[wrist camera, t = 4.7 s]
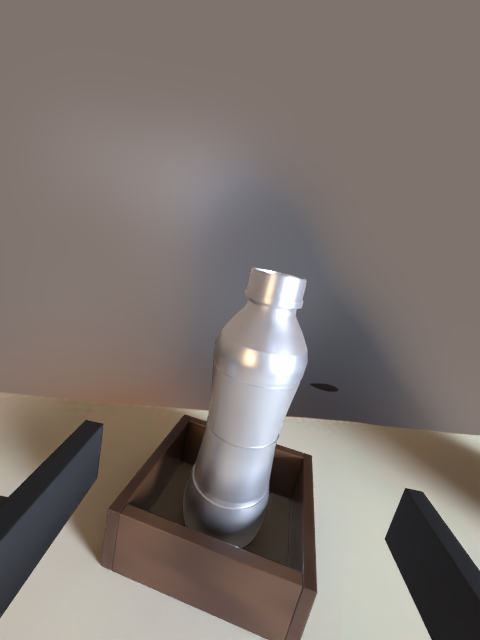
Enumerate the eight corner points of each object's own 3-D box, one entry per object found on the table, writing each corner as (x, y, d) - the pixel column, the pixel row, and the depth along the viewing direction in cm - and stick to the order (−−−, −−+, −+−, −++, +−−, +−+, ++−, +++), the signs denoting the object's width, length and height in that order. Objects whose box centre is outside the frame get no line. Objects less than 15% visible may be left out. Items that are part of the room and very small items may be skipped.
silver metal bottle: (159, 536, 21) (209, 260, 17) (206, 478, 27) (252, 265, 23) (239, 590, 19) (322, 286, 14) (270, 513, 25) (335, 284, 20)
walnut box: (299, 495, 27) (312, 455, 26) (296, 652, 16) (317, 593, 15) (177, 453, 30) (184, 414, 29) (100, 566, 18) (107, 508, 17)
